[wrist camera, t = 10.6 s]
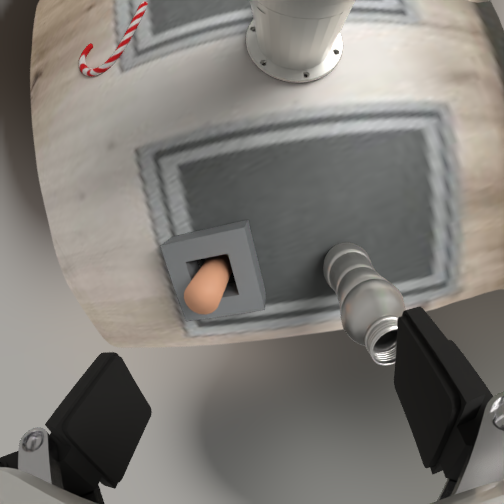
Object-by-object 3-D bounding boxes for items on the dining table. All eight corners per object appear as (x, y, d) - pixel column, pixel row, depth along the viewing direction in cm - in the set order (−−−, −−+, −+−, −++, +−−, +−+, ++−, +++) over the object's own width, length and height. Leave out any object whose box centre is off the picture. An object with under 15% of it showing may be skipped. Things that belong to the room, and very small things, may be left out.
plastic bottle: (325, 288, 40) (355, 387, 21) (316, 243, 38) (348, 323, 19) (368, 277, 39) (424, 366, 20) (361, 232, 37) (428, 300, 18)
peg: (201, 255, 40) (179, 284, 31) (229, 250, 39) (213, 278, 30) (209, 281, 41) (190, 316, 32) (236, 276, 41) (223, 311, 31)
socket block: (172, 236, 40) (160, 246, 35) (248, 219, 38) (244, 227, 34) (194, 306, 43) (186, 321, 38) (266, 294, 41) (264, 309, 37)
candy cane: (158, 6, 28) (96, 83, 32) (161, 9, 29) (101, 85, 34) (127, -7, 27) (71, 66, 31) (130, -3, 28) (75, 68, 33)
